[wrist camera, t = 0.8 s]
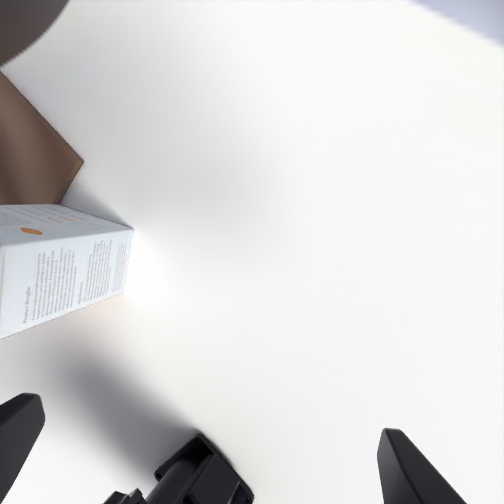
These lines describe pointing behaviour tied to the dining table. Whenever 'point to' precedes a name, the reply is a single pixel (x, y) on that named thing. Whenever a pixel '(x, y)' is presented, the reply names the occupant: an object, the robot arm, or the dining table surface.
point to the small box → (56, 263)
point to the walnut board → (31, 153)
